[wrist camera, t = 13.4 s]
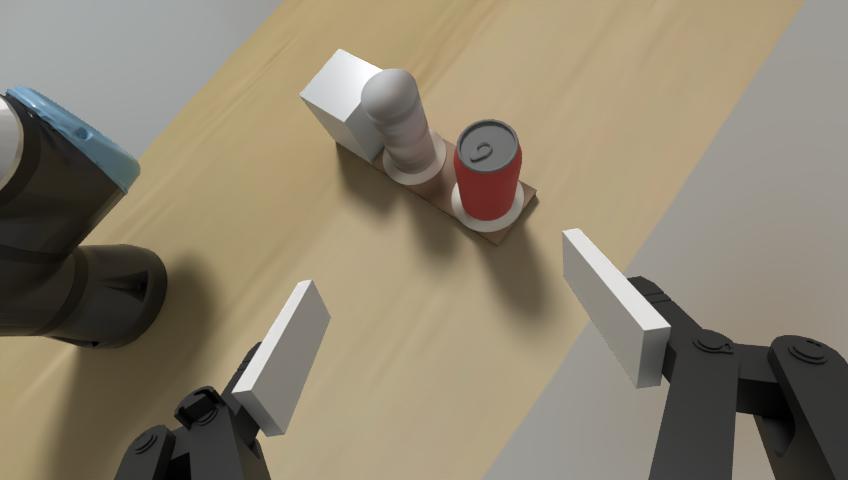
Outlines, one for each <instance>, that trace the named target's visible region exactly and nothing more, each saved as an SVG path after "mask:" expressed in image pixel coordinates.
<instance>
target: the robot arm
mask: <svg viewBox="0 0 848 480" xmlns="http://www.w3.org/2000/svg"><path fill="white" fill-rule="evenodd" d="M139 174H140V165H139V163H138V161H137V160H136V159H135V158H134V157H133V156H132V155H130V154H129V153H128V152H127V151H125V150H124V149H123V148H121V147H120V146H119V145H117V144H116V143H114V142H113V141H112V140H110V139H109V138H107V137H106V136H105V135H103V134H102V133H100V132H99V131H97V130H96V129H94V128H93V127H92V126H90V125H89V124H87V123H85V122H84V121H83V120H81V119H80V118H78V117H77V116H75V115H73V114H72V113H70V112H69V111H67V110H66V109H64V108H63V107H61V106H60V105H58V104H57V103H55V102H53V101H52V100H50V99H49V98H47V97H45V96H44V95H42V94H40V93H38V92H37V91H35V90H33V89H31V88H28V87H26V86H17V87H15V88H13V89H8V90H7V91H6V96H3V95H1V94H0V337H2V336H43V337H47V338H51V339H54V340H58V341H62V342H66V343H70V344H73V345H77V346H81V347H85V348H92V349H100V348H116V347H120V346H123V345H125V344H128V343H130V342H131V341H133V340H134V339H136V338H137V337H138V336H140V335H141V334H142V333H143V332H144V331H145V330H146V329H147V328H148V327H149V325H150V324H151V323H152V321H153V320H154V318H155V317H156V315H157V313H158V311H159V309H160V307H161V305H162V302H163V299H164V295H165V290H166V272H165V268H164V265H163V263H162V261H161V259H160V258H159V257H158V256H157V255H156V254H155V253H154V252H152V251H151V250H148V249H145V248H141V247H137V246H133V245H126V244H120V245H90V246H78V245H79V244H80V243H81V242H82V241H83V240H84V239H85V238H86V237H87V236H88V234H89V233H90V232H91V231H92V230H93V229H94V228H95V227H96V226H97V225H98V224H99V223H100V221H101V220H102V219H103V218H104V217H105V216H106V215H107V214H108V213H109V212H110V211H111V210H112V209H113V207H114V206H115V205H116V204H117V203H118V202H119V201H120V200H121V199H122V198H123V197H124V196H125V195H126V194H127V193H128V189H129V188H130V187H131V185H132V184H133V183H134V181H135V180H136V179H137V177H138V176H139ZM562 243H563V277H564V278H565V280H566V281H567V283H568V284H569V286H570V287H571V289H572V290H573V292H574V293H575V295H576V297H577V298H578V300H579V301H580V303H581V304H582V306H583V307H584V309H585V310H586V312H587V313H588V315H589V317H590V318H591V320H592V321H593V323H594V324H595V326H596V327H597V329H598V330H599V332H600V333H601V335H602V336H603V338H604V340H605V341H606V343H607V344H608V346H609V347H610V349H611V350H612V352H613V353H614V355H615V356H616V358H617V359H618V361H619V363H620V364H621V366H622V367H623V368H624V370H625V371H626V373H627V375H628V376H629V378H630V379H631V381H632V383H633V384H634V386H635V387H636V388H644V387H652V386H660V384H661V378H662V374H663V375H664V377H665V378H666V379H667V381H668V382H669V383H670V387H669V392H668V396H667V401H666V405H665V409H664V414H663V418H662V422H661V427H660V431H659V436H658V440H657V444H656V449H655V453H654V457H653V462H652V466H651V471H650V475H649V479H648V480H732V466H733V449H734V432H735V416H736V412H739V413H746V414H753V416H754V419H755V422H756V425H757V427H758V431H759V433H760V436H761V439H762V442H763V445H764V448H765V450H766V453H767V456H768V459H769V462H770V465H771V468H772V470H773V473H774V476H775V479H776V480H848V364H847V362H846V361H845V359H844V358H843V357H842V356H841V355H840V354H839V353H838V352H837V351H835V350H834V349H832V348H830V347H829V346H827V345H825V344H823V343H821V342H818V341H815V340H813V339H810V338H806V337H801V336H795V335H784V336H780V337H777V338H776V339H775V340H774V341H773V342H772V344H771V346H770V347H766V346H755V345H744V344H737V343H733V341H732V340H730V339H729V338H727V337H726V336H724V335H722V334H720V333H717V332H714V331H711V330H706V329H702V328H701V327H700V326H699V325H698V324H697V323H696V322H695V321H694V320H693V319H692V318H691V317H689V316H688V315H687V314H686V313H685V312H684V311H683V310H682V309H681V308H680V307H679V306H678V305H677V304H676V303H675V302H674V301H672V300H671V298H669V297H668V296H667V295H666V294H664V292H663V291H662V290H661V289H660V288H659V287H658V286H657V285H656V284H655V283H653V282H651V281H649V280H647V279H645V278H643V277H641V276H638V277H632V278H627V279H626V278H625V277H624V276H623V275H622V274H621V273H620V272H619V271H618V270H617V268H616V267H615V266H614V265H613V264H612V263H611V262H610V261H609V260H608V259H607V258H606V257H605V256H604V255H603V254H602V253H601V252H600V250H599V249H598V248H597V247H596V246H595V245H594V244H593V243H592V242H591V241H590V240H589V239H588V238H587V237H586V236H585V235H584V234H583V232H582V231H581V230H580V229H579V228H576V229H571V230H566V231H562ZM330 318H331V317H330V315H329V313H328V310H327V308H326V306H325V304H324V302H323V300H322V298H321V296H320V294H319V292H318V290H317V288H316V286H315V284H314V282H313V280H306V281H301V282H299V283H298V284H297V286H296V288H295V289H294V291H293V293H292V294H291V296H290V298H289V299H288V301H287V302H286V304H285V306H284V307H283V309H282V311H281V312H280V314H279V316H278V317H277V319H276V320H275V322H274V324H273V325H272V327H271V329H270V330H269V332H268V334H267V335H266V337H265V339H264V340H263V341H262V342H258V343H257V344H256V345H255V346H254V347H253V348H252V349H251V350H250V351H249V352H248V353H247V355H246V357H245V358H244V360H243V361H242V364H240V366H239V368H238V369H237V372H235V374H234V375H233V377H232V379H231V380H230V382H229V383H228V385H227V386H226V388H225V389H224V391H223V393H222V394H221V396H220V395H219V394H218V393H217V392H216V390H215V389H214V388H213V387H211V386H205V387H201V388H199V389H197V390H195V391H193V392H192V393H191V394H189V395H188V396H187V397H186V398H185V399H184V400H183V401H182V402H181V403H180V404H179V405H178V407H177V408H176V410H175V413H174V417H175V418H176V419H177V420H178V421H179V422H180V423H181V424H182V425H183V427H180V428H178V429H176V430H173V431H170V430H169V429H168V428H167V427H166V426H165V425H158V426H155V427H152V428H150V429H149V430H147V431H145V432H144V433H142V434H141V435H140V436H139V437H138V438H136V439H135V441H134V442H133V443H132V444H131V445H130V446H129V448H128V449H127V451H126V453H125V454H124V457H123V459H122V462H121V464H120V466H119V469H118V471H117V474H116V476H115V479H114V480H271V478H270V475H269V472H268V469H267V465H266V462H265V459H264V456H263V453H262V449H261V446H260V443H259V442H258V440H257V439H256V435H257V433H258V431H259V429H261V430H262V431H263V433H264V434H265V435H266V436H267V437H269V436H277V435H284V434H285V433H286V430H287V427H288V425H289V422H290V420H291V417H292V415H293V412H294V410H295V407H296V405H297V402H298V400H299V397H300V394H301V392H302V389H303V387H304V384H305V382H306V379H307V377H308V374H309V372H310V369H311V367H312V364H313V361H314V359H315V356H316V354H317V351H318V349H319V346H320V344H321V341H322V339H323V336H324V334H325V331H326V328H327V326H328V323H329V321H330Z"/></svg>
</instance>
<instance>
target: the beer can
mask: <svg viewBox="0 0 848 480" xmlns="http://www.w3.org/2000/svg"><path fill="white" fill-rule="evenodd" d="M453 164H454V169H455V174H456V179H457V184H458V189H459V194H460V199H461V203H462V207H463V208H464V210H465V211H466V213H467V214H469V215H470V216H471V217H473V218H475V219H478V220H481V221H492V220H496V219H499V218H500V217H502V216H504V215H505V214H506V213H507V212H508V211H509V210H510V209H511V207H512V204H513V202H514V198H515V193H516V188H517V183H518V178H519V174H520V169H521V164H522V151H521V147H520V145H519V140H518V137H517V135H516V132H515V131H514V130H513V129H512V128H511V127H510V126H509V125H507V124H506V123H504V122H502V121H498V120H494V119H489V120H481V121H478V122H475V123H473V124H471V125H470V126H468V127H467V128H466V129H465V130H464V131H463V132H462V133H461V135H460V137H459V139H458V141H457V147H456V149H455V152H454V161H453Z"/></svg>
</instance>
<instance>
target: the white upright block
mask: <svg viewBox="0 0 848 480" xmlns="http://www.w3.org/2000/svg"><path fill="white" fill-rule="evenodd" d="M381 71H383V70H381V69H379V68H377V67H375V66H373V65H371V64H369V63H367V62H365V61H363V60H361V59H359V58H357V57H355V56H353V55H351V54H349V53H347V52H345V51H343V50H341V49H338V50H337V52H336V53H335V54H334V55H333V56H332V57H331V59H330V60H329V61H328V62H327V63H326V64H325V66H324V67H323V68H322V69H321V70H320V71H319V73H318V74H317V75H316V76H315V77H314V78H313V79H312V81H311V82H310V83H309V84H308V85H307V86H306V88H305V89H304V90H303V91H302V92H301V93H300V95H299V96H300V97H301V99H302V100H303V101H304V102H305V104H306V105H307V106H308V107H309V109H310V110H311V111H312V112H313V114H314V115H315V116H316V117H317V119H318V120H319V121H320V122H321V124H322V125H323V126H324V128H325V129H326V130H327V131H328V133H329V134H330V135H331V136H332V138H333V139H334V140H335V141H336V142H337V143H339V144H340V145H342V146H344V147H345V148H347V149H348V150H350V151H351V152H353V153H355V154H356V155H358V156H359V157H361V158H362V159H364V160H366V161H367V162H369V163H370V164H372V163H373V162H374V161H375V160H376V158H377V157H378V156H379V155H380V153H381V152H382V151H383V150H384V148H385V146H384V145H383V143H382V141H381V139H380V137H379V135H378V134H377V132H376V130H375V128H374V126H373V125H372V123H371V121H370V119H369V117H368V115H367V114H366V112H365V110H364V108H363V106H362V104H361V92H362V89H363V87H364V85H365V83H366V82H367V81H368V80H369V79H370V78H371V77H372V76H374V75H375V74H377V73H378V72H381ZM372 165H373V164H372Z"/></svg>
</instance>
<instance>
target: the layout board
mask: <svg viewBox="0 0 848 480" xmlns="http://www.w3.org/2000/svg"><path fill="white" fill-rule="evenodd" d="M361 104H362V106H363V108H364V110H365V112H366V114H367V115H368V117H369V119H370V121H371V123H372V125H373V126H374V128H375V130H376V132H377V134H378V135H379V137H380V139H381V141H382V143H383V145H384V146H385V148H384V150H383V151H382V152H381V153H380V155H379V156H378V157H377V158H376V160H375V161H374V162H373V163H372V164H373V166H374V167H375V168H376V169H377V170H379V171H380V172H382V173H384V174H385V175H387V176H388V177H390V178H391V179H393V180H394V181H396V182H398V183H399V184H401V185H402V186H404V187H406V188H407V189H409V190H410V191H412V192H413V193H415V194H417V195H418V196H420V197H421V198H423V199H424V200H426V201H427V202H429V203H431V204H432V205H434V206H435V207H437V208H438V209H440V210H442V211H443V212H445V213H446V214H448V215H449V216H451V217H453V218H454V219H456V220H457V221H459V222H460V223H462V224H464V225H465V226H467V227H468V228H470V229H471V230H473V231H475V232H476V233H478V234H479V235H481V236H482V237H484V238H486V239H487V240H489V241H490V242H492V243H493V244H495V245H497V246H499V244H500V243H501V242H502V240H503V239H504V237H505V236H506V235H507V233H508V232H509V230H510V229H511V228H512V226H513V225H514V223H515V222H516V221H517V219H518V218H519V216H520V215H521V214H522V212H523V211H524V209H525V208H526V207H527V205H528V204H529V202H530V201H531V200H532V198H533V197H534V195H535V194H536V191H537V190H536V189H534V188H532V187H530V186H528V185H527V184H525V183H523V182H521V181H519V180H518V183H517V188H516V193H515V198H514V202H513V204H512V207H511V209H510V210H509V211H508V212H507V213H506V214H505V215H504V216H502V217H500V218H499V219H496V220H492V221H481V220H478V219H475V218H473V217H471V216H470V215H469V214H467V213H466V211H465V210H464V208H463V207H462V203H461V199H460V194H459V189H458V184H457V179H456V174H455V169H454V164H453V161H454V152H455V149H456V147H457V146H455V145H453V144H452V143H450V142H448V141H446V140H444V139H442V138H441V137H440V135H439V134H438V133H436V132H435V131H433V130H431V129H429V127H428V123H427V120H426V116H425V113H424V109H423V106H422V102H421V99H420V95H419V92H418V88H417V85H416V81H415V79H414V78H413V76H412V75H411V74H410V73H408V72H406V71H404V70H401V69H387V70H383V71H381V72H378V73H377V74H375V75H374V76H372V77H371V78H370V79H369V80H368V81H367V82H366V83H365V85H364V87H363V89H362V92H361Z"/></svg>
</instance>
